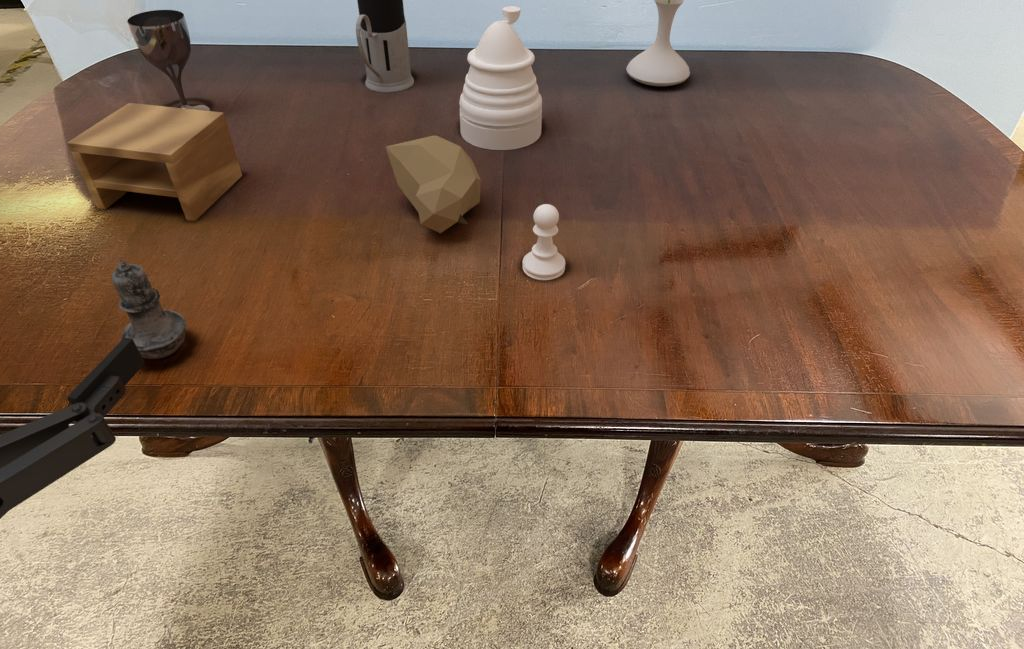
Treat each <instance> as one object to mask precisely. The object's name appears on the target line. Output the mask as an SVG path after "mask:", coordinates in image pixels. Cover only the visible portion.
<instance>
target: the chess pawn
mask: <svg viewBox="0 0 1024 649" xmlns="http://www.w3.org/2000/svg"><path fill="white" fill-rule="evenodd" d="M532 217H533V218H532V219H533V222H534V226H533V227H532V232H533V233H534V234H535V235H536V236H537V240H536V243H534V244H533V245H532V247H531V251H529V252H528V253H526V254H525V255H524V257H523V258H522V261H521V262H522V270H523V272H524V273H525V274H526V276H528V277H530V278H531V279H534V280H538V281H550V280H551V281H552V280H555V279H558V278H559V277H561V276H562V275H563V274H564V273H565V270H566V264H567V263H566V259H565V257H564V256H563V255H562V254H561V253H559V252H558V247H557V245H555V244H554V241H553V237H554V236H556V235H557V234H558V233H559V228H558V226H557V225H558V224H559V220H560V214H559V211H558V209H557V208H556V207H555V205H552V204H549V203H543V204H540V205H538V206H537V207H536V209H535V210H534V212H533V215H532Z"/></svg>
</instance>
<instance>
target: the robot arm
mask: <svg viewBox="0 0 1024 649" xmlns="http://www.w3.org/2000/svg"><path fill="white" fill-rule="evenodd" d="M0 341H1V338H0ZM145 364H146V362H145V361H144V358H143V357H142V356H141V354H140V352H139V350H138V348H137V346H136V344H135V342H134V340H133V339H131V338H123V339H122V340H120V341H119V342H118V343H117V344H116V345H115V347H114V348H112V349H111V351H110V352H108V353H107V355H106V356H105V357H103V359H102V360H101V361H100V362H99V363H98V364H97V365H96V366H95V367H94V368H93V369H92V370H91V372H89V373H88V375H86V377H85V378H83V380H82V381H81V382H80V383H79V384H78V385H77V386H76V387H75V388H74V389H73V390H72V391H71V392H70V393H69V394H68V395H67V396H66V399H67V401H68V402H69V404H70V405H69V406H65V407H63V408H61V409H59V410H56V411H54V412H52V413H50V414H47V415H45V416H42V417H40V418H37V419H35V420H33V421H30V422H28V423H25V424H23V425H20V426H17V427H16V428H13V429H11V430H9V431H6V432H4V433H1V434H0V520H1V519H2V518H3V517H4V516H5V515H6V514H7V513H8V512H9V511H11V510H13V509H14V508H16V507H17V506H19V505H20V504H22V503H23V502H25V501H27V500H29V499H30V498H31V497H33V496H34V495H36V494H38V493H40V492H41V491H42V490H44V489H46V488H47V487H49V486H50V485H52V484H53V483H56V481H58V480H59V479H61V478H63V477H64V476H66V475H67V474H69V473H70V472H72V471H74V470H75V469H78V467H80V466H82V465H83V464H84V463H87V462H88V461H89V460H91V459H93V458H95V457H96V456H97V455H99V454H100V453H102V452H103V451H105V450H106V449H109V448H110V447H111V446H112V445H114V444H115V442H116V439H117V438H116V435H115V434H114V432H113V430H112V428H111V427H110V425H109V424H108V422H107V420H106V419H105V417H106V416H107V415H108V414H109V413H110V412H111V410H112V409H113V408H114V407H115V406H116V404H117V403H119V401H120V400H121V399H122V398H123V397H124V395H125V394H126V391H127V389H126V388H127V387H125V386H126V385H128V383H129V382H130V381H131V380H132V379H133V377H135V375H136V374H137V373H138V372H139V371H140V370H141V369H142V367H144V365H145ZM71 423H74V424H73V425H70V424H71Z"/></svg>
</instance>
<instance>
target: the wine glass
mask: <svg viewBox="0 0 1024 649" xmlns="http://www.w3.org/2000/svg"><path fill="white" fill-rule="evenodd" d="M126 22H127V25H128V28H129V31H130V33H131V36H132V39H133V41H134V43H135V44H136V47H137V48H138V50H139V52H140V53H141V55H142V56H143V58H144V59H145V60H146V61H147V62H148V63H150V64H151V65H152V66H153V67H155V68H157V70H159V71H161V72H162V73H163V74H165V75H166V77H168V78H169V79H170V81H171V82H172V84H173V86H174V88H175V90H176V92H177V94H178V97H179V100H180V103H181V105H179V106H176V107H175V108H184V109H194V110H204V111H211V108H210V106H209V107H208V106H207V105H204V104H200V103H189V104H188V102H187V99H186V97H185V94H184V89H183V84H182V74H183V71H184V68H185V66H186V64H187V63H188V61H189V59H190V56H191V53H192V52H191V51H192V50H191V49H192V48H191V46H192V45H191V36H190V31H189V27H188V23H187V19H186V16H185V14H184V13H183V12H182V11H179V10H174V9H154V10H148V11H143V12H140V13H136V14H134V15H131V16H130V17H129V18H127V21H126Z"/></svg>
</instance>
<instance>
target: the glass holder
mask: <svg viewBox="0 0 1024 649" xmlns="http://www.w3.org/2000/svg"><path fill="white" fill-rule="evenodd" d="M357 8H358V17H357V19H356V22H355V36H356V41H357V47H358V51H359V55H360V57H361V59H362V62H363V63H364V66H365V74H366V80H365V81H364V82H365V87H366V88H367V89H368V90H370V91H373V92H377V93H398V92H402V91H405V90H408V89H411V87H413V85H414V84H415V79H414V77H413V76H412V72H411V60H410V59H411V58H410V49H409V39H408V30H407V21H406V16H405V8H404V0H357Z"/></svg>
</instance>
